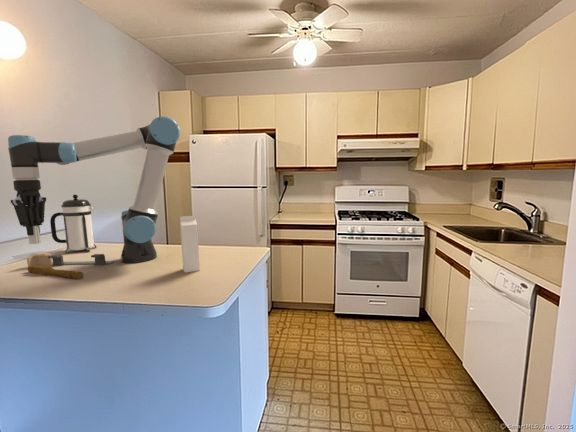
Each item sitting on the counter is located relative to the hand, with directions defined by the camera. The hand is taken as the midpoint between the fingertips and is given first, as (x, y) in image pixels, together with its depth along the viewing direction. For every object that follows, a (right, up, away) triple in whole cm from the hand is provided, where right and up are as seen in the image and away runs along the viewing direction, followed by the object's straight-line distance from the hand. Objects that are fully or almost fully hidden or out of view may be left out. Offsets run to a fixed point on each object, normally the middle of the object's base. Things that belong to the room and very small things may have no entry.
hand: (35, 243), depth 116 cm
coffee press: (-17, -9, +50) cm, 54 cm away
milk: (+55, -12, +11) cm, 57 cm away
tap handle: (+1, -14, +9) cm, 16 cm away
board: (-2, -12, +22) cm, 25 cm away
